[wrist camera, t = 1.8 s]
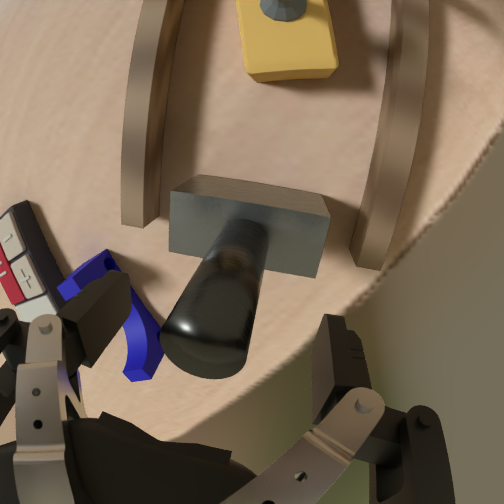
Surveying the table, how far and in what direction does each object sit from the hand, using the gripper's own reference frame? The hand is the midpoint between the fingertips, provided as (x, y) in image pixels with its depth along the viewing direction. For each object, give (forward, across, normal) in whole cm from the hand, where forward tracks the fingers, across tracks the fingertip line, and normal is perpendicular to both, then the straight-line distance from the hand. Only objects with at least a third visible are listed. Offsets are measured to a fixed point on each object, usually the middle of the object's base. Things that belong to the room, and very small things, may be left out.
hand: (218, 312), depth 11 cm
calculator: (+13, +27, +11) cm, 32 cm away
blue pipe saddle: (+13, +12, +12) cm, 22 cm away
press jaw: (+12, 0, -1) cm, 12 cm away
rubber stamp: (+13, 0, -16) cm, 20 cm away
